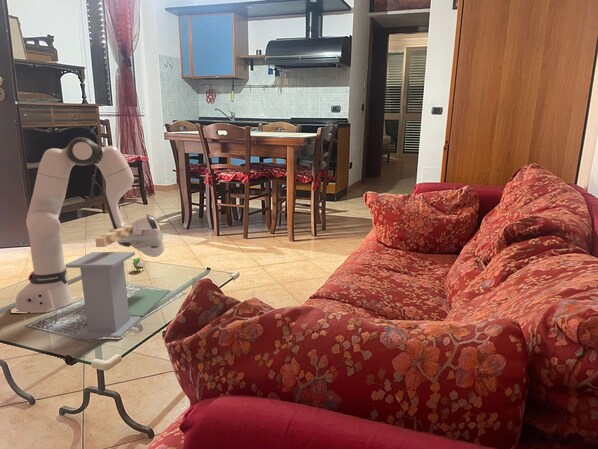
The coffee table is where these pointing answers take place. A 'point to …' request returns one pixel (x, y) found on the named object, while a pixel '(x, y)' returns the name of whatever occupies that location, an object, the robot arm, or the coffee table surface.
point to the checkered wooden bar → (113, 236)
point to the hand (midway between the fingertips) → (126, 229)
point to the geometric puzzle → (138, 263)
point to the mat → (144, 301)
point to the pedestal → (105, 295)
